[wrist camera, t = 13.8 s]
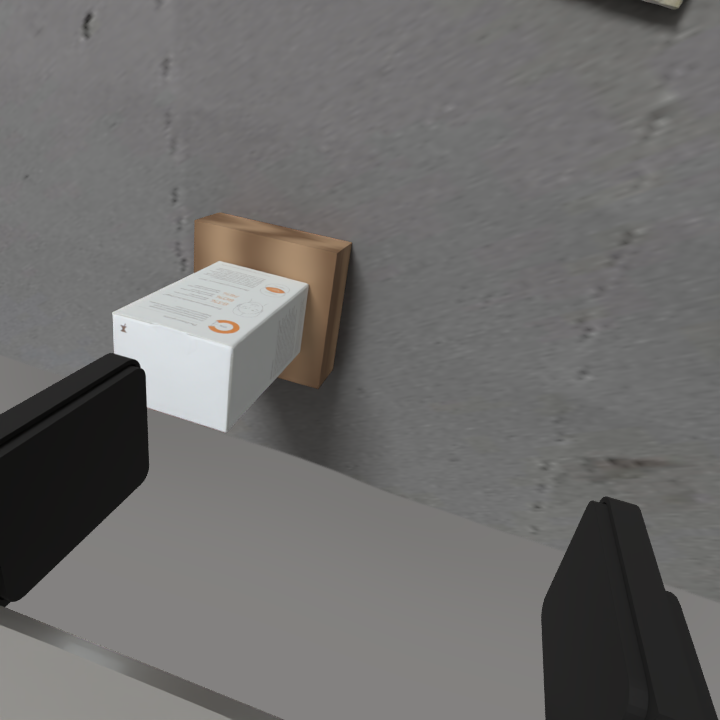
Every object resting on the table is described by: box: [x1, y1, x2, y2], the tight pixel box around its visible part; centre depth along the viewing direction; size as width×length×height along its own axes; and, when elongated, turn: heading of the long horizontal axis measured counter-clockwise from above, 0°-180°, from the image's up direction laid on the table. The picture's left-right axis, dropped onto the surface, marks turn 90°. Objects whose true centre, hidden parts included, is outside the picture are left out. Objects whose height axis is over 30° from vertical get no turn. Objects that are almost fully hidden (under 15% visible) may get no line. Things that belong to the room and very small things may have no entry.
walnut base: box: [194, 213, 352, 389], centre depth 45 cm, size 12×12×4 cm
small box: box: [112, 261, 309, 433], centre depth 38 cm, size 8×6×13 cm
